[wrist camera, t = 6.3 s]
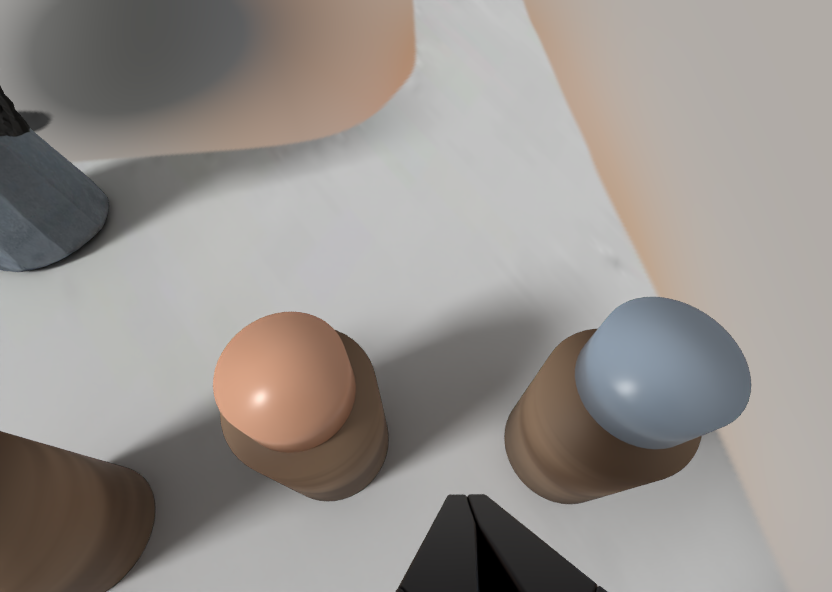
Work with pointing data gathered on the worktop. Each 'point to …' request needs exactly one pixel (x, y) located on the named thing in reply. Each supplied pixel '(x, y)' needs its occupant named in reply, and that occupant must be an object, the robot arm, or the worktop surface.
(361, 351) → the button stands
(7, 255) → the moka pot
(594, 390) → the slate-blue button
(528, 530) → the robot arm
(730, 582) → the worktop surface
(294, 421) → the terracotta button
